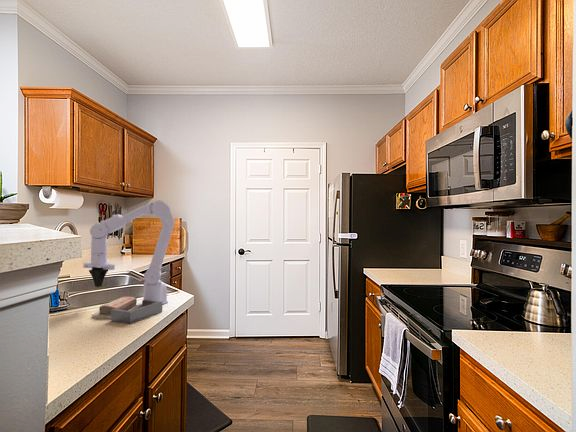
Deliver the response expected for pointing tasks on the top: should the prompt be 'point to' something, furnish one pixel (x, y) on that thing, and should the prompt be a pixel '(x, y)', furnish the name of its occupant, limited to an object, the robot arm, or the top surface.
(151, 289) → the robot arm
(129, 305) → the packaged product
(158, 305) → the dark grey slab
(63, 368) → the top surface
